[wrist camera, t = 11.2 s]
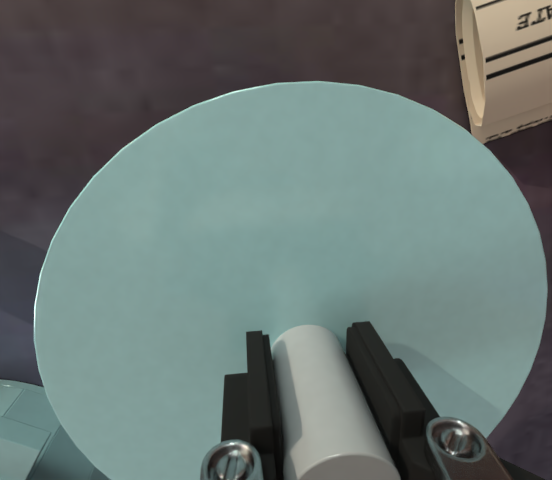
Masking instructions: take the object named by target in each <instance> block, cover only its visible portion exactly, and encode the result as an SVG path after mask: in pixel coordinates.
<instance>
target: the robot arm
mask: <svg viewBox="0 0 552 480" xmlns="http://www.w3.org/2000/svg"><path fill="white" fill-rule="evenodd" d="M246 346H247V373H237V374H227V375H225V376H224V391H223V409H222V428H221V443H219V444H217V445H216V446H214V447H213V448H212V449H211V450H210V451H209V452H208V453H207V454H206V456H205V457H204V459H203V461H202V465H201V471H200V480H283V475H282V473H283V454H282V432H281V420H280V412H279V405H278V397H277V390H276V383H275V376H274V368H273V361H272V354H271V347H270V339H269V334H266V335H263V334H262V330H261V331H249V332H246ZM346 356H347V358H348V360H349V362H350V365H351V367H352V369H353V371H354V374H355V376H356V378H357V380H358V382H359V385H360V387H361V389H362V391H363V394H364V396H365V398H366V400H367V403H368V405H369V407H370V409H371V411H372V414H373V416H374V418H375V420H376V423H377V425H378V427H379V429H380V432H381V434H382V436H383V438H384V440H385V443H386V445H387V447H388V449H389V452H390V454H391V456H392V458H393V461H394V463H395V465H396V467H397V469H398V472H399V474H400V477H401V480H545V479H543V478H541V477H539V476H536V475H534V474H532V473H530V472H528V471H526V470H524V469H522V468H520V467H518V466H515V465H513V464H511V463H509V462H507V461H505V460H503V459H501V458H499V457H498V456H497V455H496V453H495V452H494V450H493V449H492V447H491V446H490V444H489V443H488V441H487V440H486V438H485V437H484V436H483V435H482V434H481V432H480V431H479V430H478V429H476V428H475V427H474V426H472V425H471V424H469V423H467V422H465V421H463V420H461V419H457V418H454V417H444V416H443V417H440V416H439V414H438V413H437V411H436V410H435V408H434V407H433V405H432V404H431V402H430V401H429V399H428V398H427V396H426V395H425V393H424V392H423V390H422V389H421V387H420V386H419V384H418V383H417V381H416V380H415V378H414V377H413V375H412V374H411V372H410V371H409V369H408V368H407V366H406V365H405V363H404V362H403V361H402V359H400V358H395V359H393V357H392V355H391V354H390V352H389V351H388V349H387V348H386V346H385V344H384V343H383V341H382V340H381V338H380V336H379V335H378V333H377V332H376V330H375V329H374V327H373V325H372V324H371V322H370V321H365V322H353V323H352V327H348V328H347V332H346Z"/></svg>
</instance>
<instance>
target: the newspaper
mask: <svg viewBox="0 0 552 480" xmlns="http://www.w3.org/2000/svg"><path fill="white" fill-rule="evenodd" d="M455 29H456V39H457V46H458V53H459V60H460V68H461V75H462V82H463V89H464V94H465V99H466V104H467V109H468V114H469V119H470V124H471V132H472V135H473V136H474V137H475V138H476V139H477V140H478V141H480V142H481V143H482V144H484V143H487V142H490V141H492V140H495V139H498V138H501V137H504V136H507V135H510V134H513V133H516V132H519V131H521V130H524V129H527V128H530V127H533V126H536V125H539V124H542V123H545V122H548V121H550V120H552V0H456V3H455Z"/></svg>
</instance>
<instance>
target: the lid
mask: <svg viewBox="0 0 552 480" xmlns="http://www.w3.org/2000/svg"><path fill="white" fill-rule="evenodd" d="M547 295H548V284H547V269H546V259H545V254H544V250H543V245H542V241H541V236H540V232H539V230H538V227H537V224H536V222H535V219H534V217H533V214H532V212H531V209H530V207H529V204H528V202H527V201H526V199H525V197H524V196H523V194H522V192H521V191H520V189H519V187H518V186H517V184H516V182H515V181H514V179H513V177H512V176H511V175H510V174H509V172H508V171H507V170H506V169H505V168H504V166H503V165H502V164H501V163H500V162H499V160H498V159H497V158H496V157H495V156H494V155H493V153H492V152H491V151H490V150H489V149H488V148H487V147H485V146H484V145H483V144H482V143H481V142H480V141H478V140H477V139H476V138H475V137H474V136H473V135H471V134H470V133H469V132H468V131H467V130H466V129H464V128H463V127H461V126H460V125H458V124H456V123H455V122H453V121H452V120H450V119H448V118H447V117H445V116H443V115H442V114H440V113H439V112H437V111H435V110H434V109H431V108H429V107H427V106H424V105H422V104H420V103H417V102H415V101H412V100H410V99H408V98H405V97H403V96H400V95H398V94H394V93H390V92H386V91H382V90H378V89H374V88H370V87H366V86H362V85H356V84H345V83H335V82H325V81H306V82H285V83H273V84H268V85H263V86H258V87H252V88H247V89H242V90H237V91H233V92H230V93H227V94H224V95H221V96H218V97H215V98H212V99H210V100H207V101H204V102H201V103H198V104H195V105H193V106H191V107H189V108H187V109H185V110H183V111H181V112H179V113H177V114H175V115H173V116H171V117H169V118H167V119H165V120H163V121H161V122H160V123H158V124H156V125H154V126H153V127H151V128H150V129H149V130H147V131H146V132H144V133H143V134H142V135H140V136H139V137H137V138H136V139H135V140H133V141H132V142H130V143H129V144H128V145H126V146H125V147H123V148H122V149H121V150H120V151H119V152H118V153H117V154H116V155H115V156H114V157H113V158H112V159H111V160H110V161H109V162H107V163H106V164H105V165H104V166H103V167H102V168H101V169H100V170H99V171H98V172H97V173H96V174H95V175H94V176H93V177H92V178H91V180H90V181H89V182H88V184H87V185H86V186H85V188H84V189H83V190H82V191H81V193H80V194H79V195H78V197H77V198H76V199H75V201H74V202H73V203H72V205H71V206H70V207H69V209H68V211H67V213H66V215H65V216H64V218H63V220H62V222H61V224H60V226H59V227H58V229H57V231H56V233H55V235H54V237H53V238H52V241H51V244H50V246H49V249H48V252H47V255H46V258H45V261H44V263H43V266H42V269H41V272H40V277H39V283H38V288H37V294H36V299H35V305H34V343H35V350H36V356H37V363H38V369H39V373H40V376H41V379H42V382H43V385H44V388H45V391H46V395H47V398H48V400H49V402H50V404H51V406H52V408H53V410H54V412H55V414H56V416H57V418H58V420H59V422H60V424H61V425H62V427H63V428H64V429H65V431H66V432H67V434H68V435H69V437H70V438H71V439H72V441H73V442H74V444H75V445H76V447H77V448H78V449H79V450H80V451H81V452H82V453H83V454H84V455H85V456H86V457H87V458H88V460H89V461H90V462H91V463H92V464H93V465H94V466H95V467H96V468H97V469H98V470H100V471H101V472H102V473H103V474H104V475H106V476H107V477H108V478H109V479H110V480H200V471H201V465H202V461H203V459H204V457H205V456H206V454H207V453H208V452H209V451H210V450H211V449H212V448H213V447H214V446H216V445H217V444H219V443H221V428H222V409H223V391H224V376H225V375H227V374H237V373H247V346H246V332H249V331H261V330H262V334H263V335H266V334H269V339H270V347H271V354H272V361H273V368H274V376H275V383H276V390H277V397H278V405H279V412H280V420H281V432H282V454H283V473H282V475H283V480H401V477H400V474H399V472H398V469H397V467H396V465H395V463H394V461H393V458H392V456H391V454H390V452H389V449H388V447H387V445H386V443H385V440H384V438H383V436H382V434H381V432H380V429H379V427H378V425H377V423H376V420H375V418H374V416H373V414H372V411H371V409H370V407H369V405H368V403H367V400H366V398H365V396H364V394H363V391H362V389H361V387H360V385H359V382H358V380H357V378H356V376H355V374H354V371H353V369H352V367H351V365H350V362H349V360H348V358H347V356H346V332H347V328H348V327H352V323H353V322H365V321H370V322H371V324H372V325H373V327H374V329H375V330H376V332H377V333H378V335H379V336H380V338H381V340H382V341H383V343H384V344H385V346H386V348H387V349H388V351H389V352H390V354H391V355H392V357H393V359H395V358H400V359H402V361H403V362H404V363H405V365H406V366H407V368H408V369H409V371H410V372H411V374H412V375H413V377H414V378H415V380H416V381H417V383H418V384H419V386H420V387H421V389H422V390H423V392H424V393H425V395H426V396H427V398H428V399H429V401H430V402H431V404H432V405H433V407H434V408H435V410H436V411H437V413H438V414H439V416H440V417H443V416H444V417H454V418H457V419H461V420H463V421H465V422H467V423H469V424H471V425H472V426H474V427H475V428H476V429H478V430H479V431H480V432H481V434H482V435H483V436H484V437H485V438H487V437H488V436H489V435H490V433H491V432H492V431H493V430H494V429H495V427H496V426H497V425H498V424H499V422H500V421H501V420H502V419H503V418H504V416H505V415H506V413H507V411H508V410H509V408H510V407H511V405H512V404H513V402H514V401H515V399H516V398H517V396H518V395H519V393H520V391H521V389H522V387H523V385H524V383H525V381H526V379H527V377H528V375H529V373H530V371H531V368H532V365H533V362H534V360H535V357H536V354H537V351H538V348H539V346H540V342H541V337H542V332H543V328H544V323H545V319H546V308H547Z"/></svg>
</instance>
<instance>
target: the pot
mask: <svg viewBox="0 0 552 480" xmlns="http://www.w3.org/2000/svg"><path fill="white" fill-rule="evenodd" d="M0 480H110V479H109V478H108V477H107V476H106V475H104V474H103V473H102V472H101V471H100V470H98V469H97V468H96V467H95V466H94V465H93V464H92V463H91V462H90V461H89V460H88V458H87V457H86V456H85V455H84V454H83V453H82V452H81V451H80V450H79V449H78V448H77V447H76V445H75V444H74V442H73V441H72V439H71V438H70V437H69V435H68V434H67V432H66V431H65V429H64V428H63V427H62V425H61V424H60V422H59V420H58V418H57V416H56V414H55V412H54V410H53V408H52V406H51V404H50V402H49V400H48V398H47V395H46V391H45V388H44V387H40V386H37V385H33V384H28V383H23V382H18V381H13V380H2V379H0Z"/></svg>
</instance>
